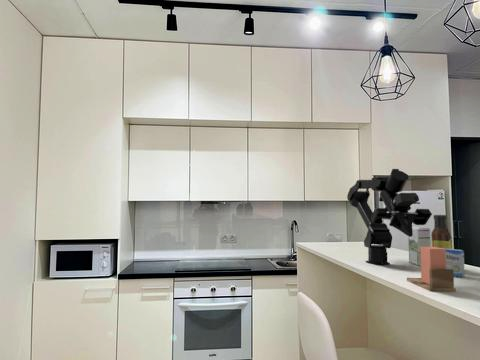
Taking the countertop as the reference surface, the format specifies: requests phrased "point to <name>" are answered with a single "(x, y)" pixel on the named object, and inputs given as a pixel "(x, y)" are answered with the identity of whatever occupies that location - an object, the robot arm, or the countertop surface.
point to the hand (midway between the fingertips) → (410, 235)
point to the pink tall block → (431, 261)
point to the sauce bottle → (441, 233)
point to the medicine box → (455, 261)
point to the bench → (437, 280)
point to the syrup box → (418, 244)
